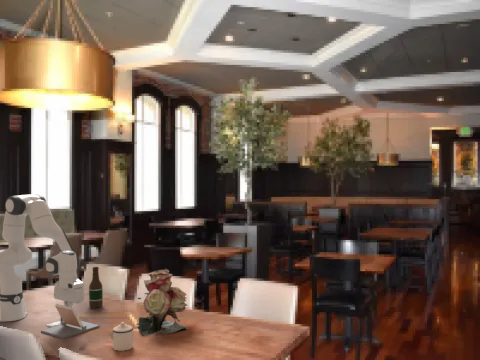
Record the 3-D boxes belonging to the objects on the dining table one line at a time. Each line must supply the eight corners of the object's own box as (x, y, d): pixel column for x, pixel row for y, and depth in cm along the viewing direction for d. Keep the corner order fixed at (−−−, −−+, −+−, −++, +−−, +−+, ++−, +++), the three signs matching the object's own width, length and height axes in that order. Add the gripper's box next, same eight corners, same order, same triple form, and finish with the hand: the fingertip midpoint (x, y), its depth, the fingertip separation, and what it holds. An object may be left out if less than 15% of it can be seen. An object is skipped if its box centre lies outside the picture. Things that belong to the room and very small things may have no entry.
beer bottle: (89, 308, 295) (88, 268, 295) (89, 305, 302) (88, 266, 302) (102, 307, 297) (102, 267, 297) (102, 304, 305) (102, 265, 304)
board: (41, 332, 251) (40, 326, 251) (77, 321, 269) (77, 316, 269) (63, 338, 240) (62, 333, 240) (99, 327, 258) (99, 321, 258)
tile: (56, 304, 256) (54, 305, 255) (73, 307, 248) (71, 309, 247) (66, 321, 261) (64, 323, 260) (83, 326, 253) (81, 328, 252)
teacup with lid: (137, 346, 228) (137, 321, 228) (123, 352, 220) (123, 326, 220) (118, 342, 234) (117, 317, 234) (103, 348, 226) (103, 322, 226)
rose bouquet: (144, 339, 239) (143, 277, 238) (132, 323, 266) (132, 267, 265) (195, 332, 248) (194, 272, 248) (179, 317, 275) (178, 263, 275)
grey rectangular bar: (72, 318, 275) (72, 311, 275) (77, 320, 272) (77, 313, 272) (46, 326, 262) (46, 318, 262) (52, 327, 259) (51, 320, 259)
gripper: (50, 281, 257) (50, 308, 257) (75, 286, 245) (76, 314, 245) (60, 279, 262) (61, 305, 262) (86, 283, 250) (86, 311, 251)
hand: (68, 309), depth 254 cm, fingers closed, pressing on tile
